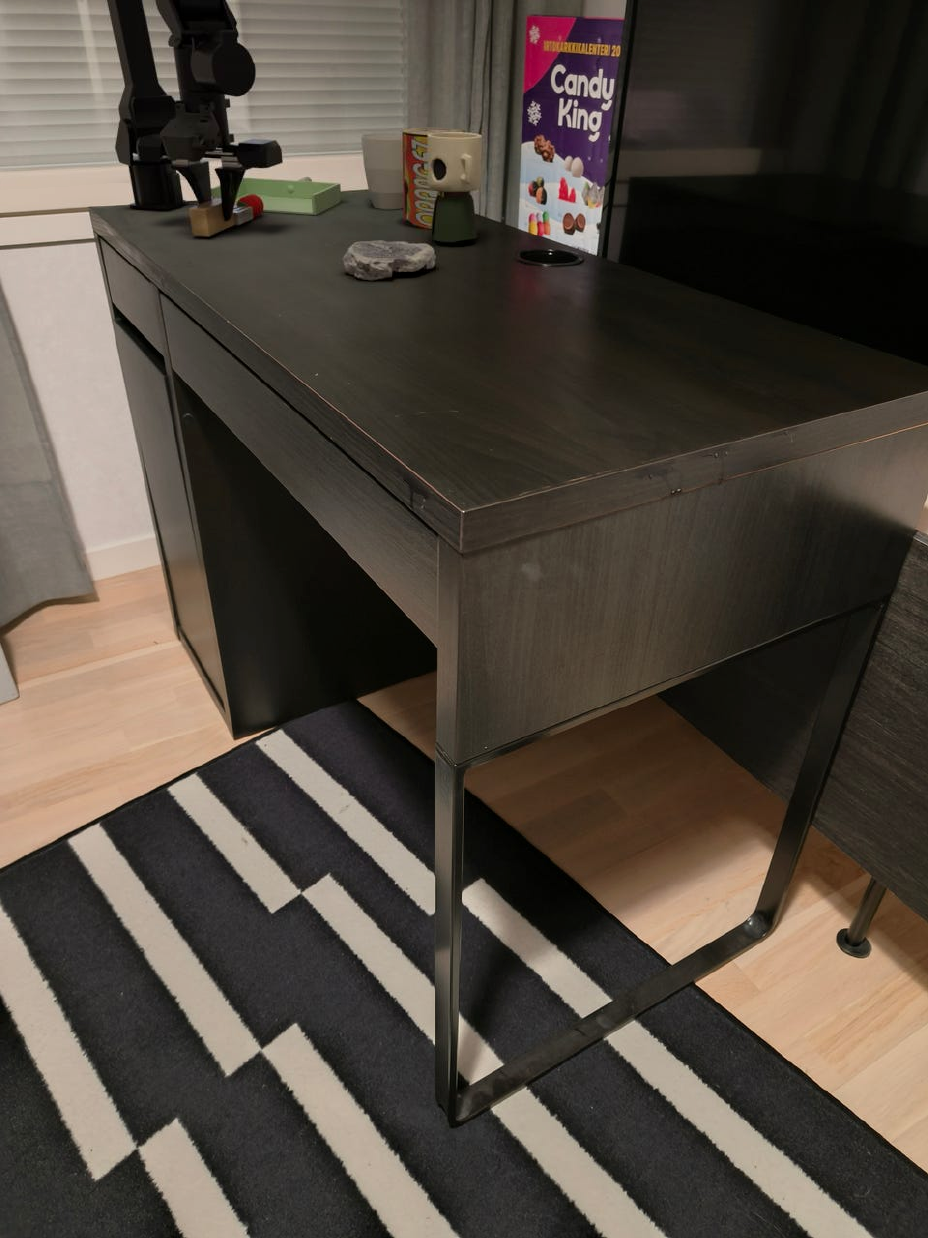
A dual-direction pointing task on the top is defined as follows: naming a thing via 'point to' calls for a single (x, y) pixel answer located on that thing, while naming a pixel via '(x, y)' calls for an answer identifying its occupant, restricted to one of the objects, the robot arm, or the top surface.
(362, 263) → the fossil
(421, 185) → the beverage can
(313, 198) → the tray
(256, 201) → the strawberry
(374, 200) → the cup
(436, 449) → the top surface
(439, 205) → the character mug
